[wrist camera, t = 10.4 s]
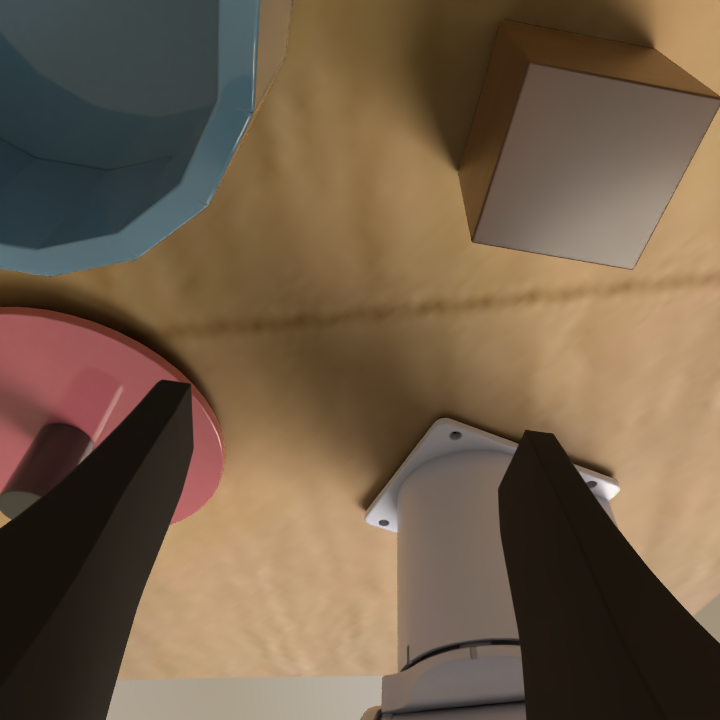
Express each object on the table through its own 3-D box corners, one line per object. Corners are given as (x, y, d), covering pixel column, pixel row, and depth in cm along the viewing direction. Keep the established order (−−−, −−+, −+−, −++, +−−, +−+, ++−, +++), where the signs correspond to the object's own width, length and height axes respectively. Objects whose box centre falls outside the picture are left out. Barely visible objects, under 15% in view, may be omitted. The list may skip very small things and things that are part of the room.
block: (657, 49, 16) (725, 98, 13) (591, 198, 19) (633, 270, 16) (500, 18, 16) (528, 60, 13) (457, 174, 19) (470, 242, 16)
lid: (232, 328, 23) (202, 414, 20) (225, 530, 32) (204, 616, 28) (-136, 270, 22) (-239, 349, 19) (-40, 495, 31) (-98, 579, 27)
